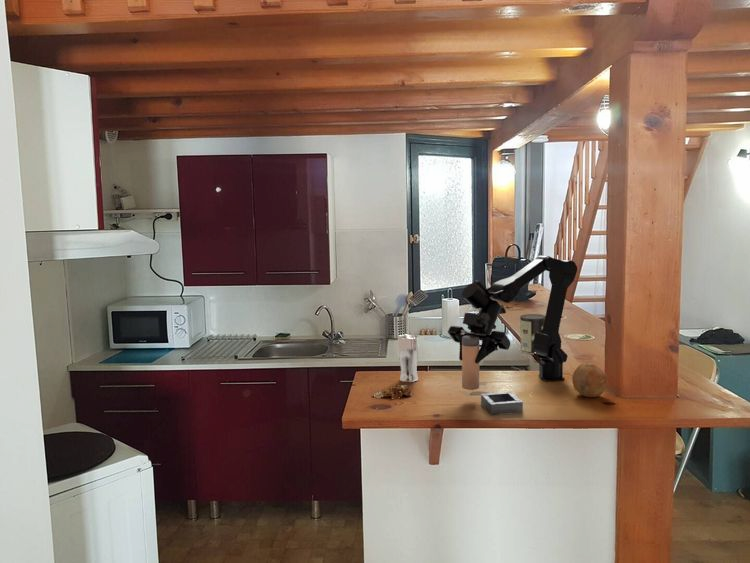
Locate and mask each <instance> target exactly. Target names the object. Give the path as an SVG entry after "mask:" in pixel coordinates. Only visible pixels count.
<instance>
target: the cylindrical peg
mask: <svg viewBox="0 0 750 563" xmlns="http://www.w3.org/2000/svg"><path fill="white" fill-rule="evenodd" d="M479 350H480V340H479V337H478V336H463V337H462V361H461V387H462V389H464V390H467V391H468V390H469V391H470V390H471V391H474V390H478V389H479V388H480V362H479V363H478V364H477V363H476V362H475V360H476V357H477V354H478V352H479Z"/></svg>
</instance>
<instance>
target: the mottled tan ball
mask: <svg viewBox="0 0 750 563" xmlns="http://www.w3.org/2000/svg"><path fill="white" fill-rule="evenodd" d="M571 378H572V379H571V380H572V384H573V387H574V389H575V391H576V392H577V393H578V394H579V395H581V396H583V397H586V398H595V397H599V396H601V395H602V394H603V393H604V392H605V391H606V389H607V387H608V377H607V374H606V373H605V371H604V370H603V368H601V367H600V366H599V365H596V364H594V363H589V362H588V363H582V364H579V365H578V366H577V367H576V369H575V370H574V372H573V373H572V377H571Z"/></svg>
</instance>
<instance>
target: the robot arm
mask: <svg viewBox="0 0 750 563" xmlns="http://www.w3.org/2000/svg"><path fill="white" fill-rule="evenodd" d="M545 271H546V272H548V278H549V281H550V283H551V284H550V285H551V287H550V293H549V297H548V302H547V307H546V311H545V312H546V313H545V321H544V326H543V329H542V330H541V331H540V332H539V333H538V332H536V333H535V336H534V341H533V343H532V344H534V346H533V348H534V350H535V352H536V354H537V355H536V358H537V359H540V363H539V367H538V368H539V369H538V370H539V371H538V372H539V374H538V376H539V377H540V378H541V379H542V380H544V381H545V382H553V381H554V382H556V381H564V380H565V379H566V378H565V377H564V374H563V373H564V367H563V365H564V363H566V362H567V360H568V354H567V353H566V352H565V351H564V350H563V349H562V338H561V336H560V328H561V327H560V326H561V321H562V316H563V312H564V311H563V310H564V306H565V302H566V296H567V291H568V289H569V287H570V286H571V285H572V283H574V282H575V278H576V275H577V272H578V265H577V264H576V263H575V261H574V260H568V259H557V258H554V257H551V256H550V255H538V256H537V257H535V259H534V260H532V261H531V262H530V263H528V264H527V265H525V266H524V267H523V268H521V269H519V270H518V271H516V272H515V273H514V274H513V275H511V276H509V277H506V278H502V279H500V280H497V281H496V282H493V283H492V284H491V285H490V287H485V286H484V285H483V284H482V282H481V281H479V280H474V281H473V282H472V283H471V284H468V285H467V286H466V287H465V288H464V289H463V290H462V293H461V297H462V298H463V299H464V300H465V301H466V302H467V303H468V304H469V305H471V307H473V308H474V309H476V310H478V309H479V311H478V313H472V312H471V313H470V312H469V313H468V312H464V315H463V320H462V324H463V325H466V326H467V329H468V330H470V331H467V330H465V329H464V327H463V326H460V325H459V326H458V325H451V326H449V328H448V330H447V334H448V335H449V337H450V338H451V339H452V340H453V341H454V342H455V343H459V355H458V356H459V358H458V359H459V361H460V362H462V337H463V336H478V337H479V341H481V346H480V347H479V352H478V354H477V357H476V360H475V362H476V363H477V364H478V363H479V364H480V362H481V361H483V360H484V359H485V358H486V357H487V356H489V355H490V354H492V353H493V352H495V351H496V352H498V350H499V349H500V350H505V351H508V350H509V349H510V346H511V340H510V339H509V337H508V336H507V334H506V332H504V331H497V330H496V329H497V326H496V322H497V320H498V317H499V315H502V314H506V313H507V311H506V308H505V307H504V306H505V305H504V304H500V303H499V302H502V303H507V304H508V303H511V302H513V301H514V300H515V298H517V297H518V296H519V294H520V292H521V289H522V288H524V287H525V286H526V285H528V284H529V283H530V282H532V281H533V280H534V279H535V278H537V277H539V276H540V275H541V274H543V273H544V272H545Z"/></svg>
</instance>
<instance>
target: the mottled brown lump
mask: <svg viewBox="0 0 750 563" xmlns="http://www.w3.org/2000/svg"><path fill="white" fill-rule="evenodd" d="M412 394H413V393H412V389H409V387H408V384H405V385H403V384H401V385H399V384H398V385H397V384H396V385H395V386H393V387H388V388H385V390H382V391H380V390H378V391H375V393H373V394H372V396H373V395H374V397H376V396H377V397H382V398H383V397H391V398H399V397H401V398H402V396H403V395H405V396H406V397H410V396H411V395H412ZM399 399H400V398H399Z"/></svg>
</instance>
